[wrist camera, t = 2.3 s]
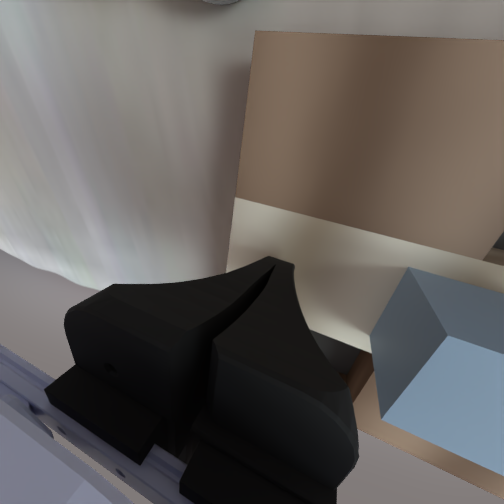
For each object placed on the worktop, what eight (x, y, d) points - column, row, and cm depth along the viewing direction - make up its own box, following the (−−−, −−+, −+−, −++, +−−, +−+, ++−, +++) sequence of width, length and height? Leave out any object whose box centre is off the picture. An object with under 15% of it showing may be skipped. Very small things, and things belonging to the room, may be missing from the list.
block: (530, 301, 8) (672, 412, 4) (464, 371, 10) (529, 487, 6) (408, 266, 9) (448, 335, 6) (369, 335, 11) (381, 419, 7)
